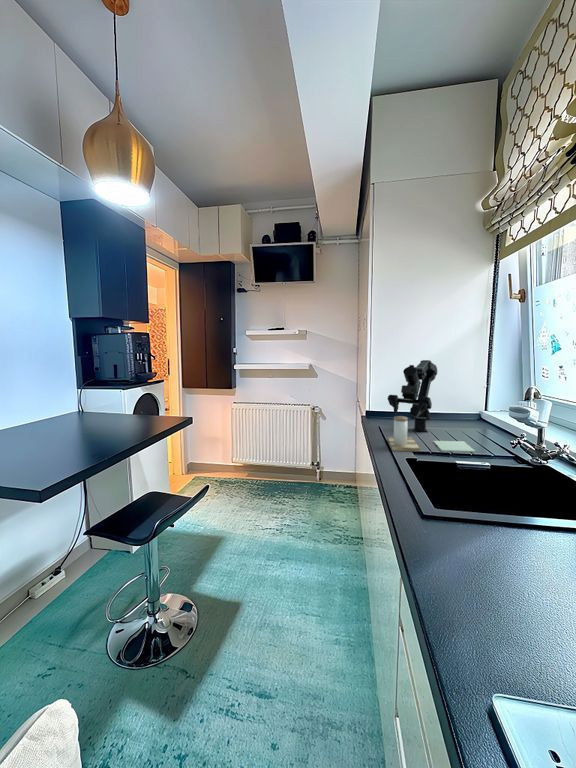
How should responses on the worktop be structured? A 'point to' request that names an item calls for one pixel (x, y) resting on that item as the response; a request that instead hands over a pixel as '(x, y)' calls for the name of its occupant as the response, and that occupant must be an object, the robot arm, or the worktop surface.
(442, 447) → the mat
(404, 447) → the board
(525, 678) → the worktop surface
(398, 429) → the jar
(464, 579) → the worktop surface
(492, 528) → the worktop surface
